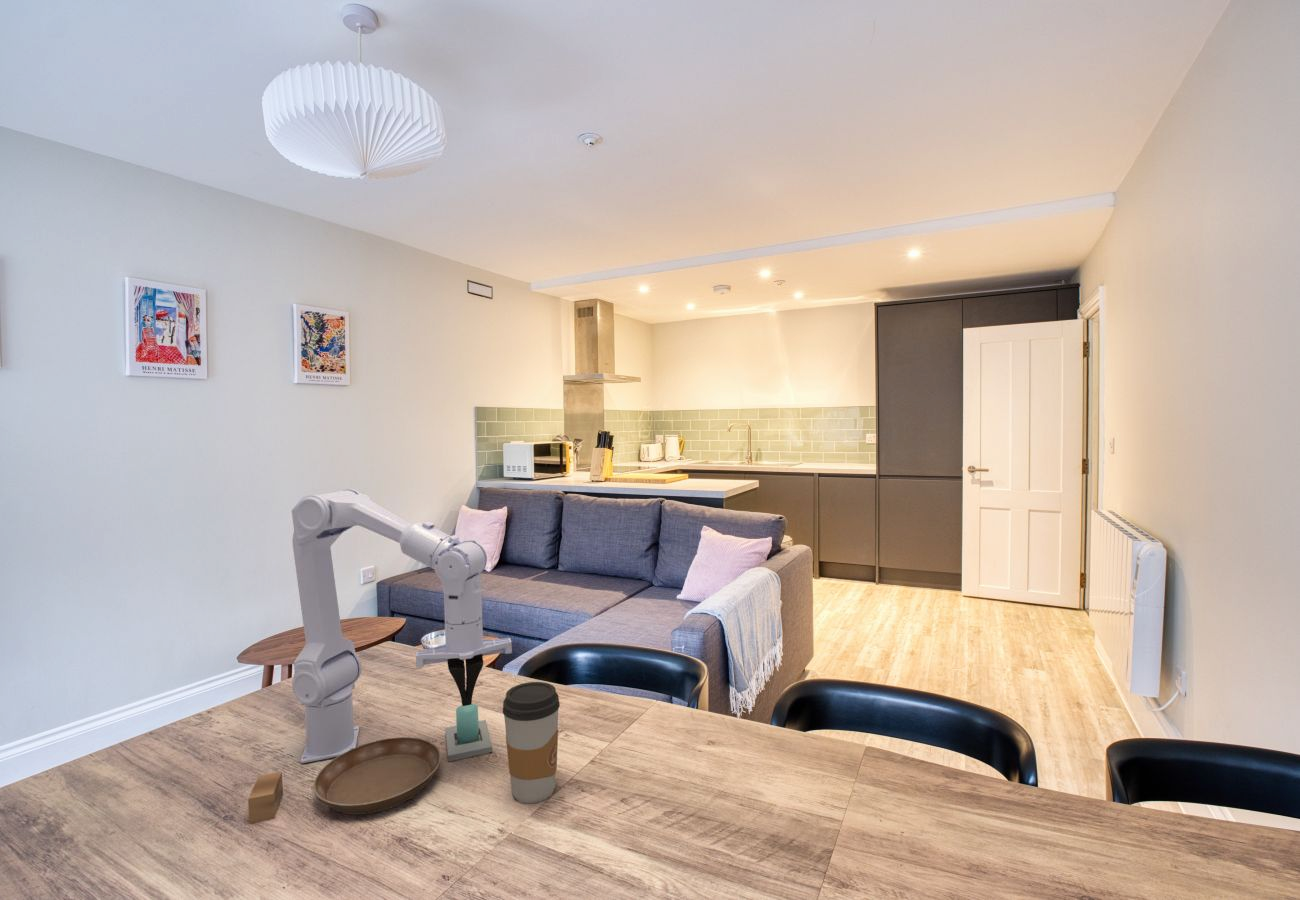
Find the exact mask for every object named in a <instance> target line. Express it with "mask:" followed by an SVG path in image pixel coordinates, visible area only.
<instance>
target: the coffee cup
mask: <svg viewBox="0 0 1300 900" xmlns="http://www.w3.org/2000/svg"><path fill="white" fill-rule="evenodd" d="M559 698H560V697H559V694H558V692H557V689H556V687H555V685H553V684H551V683H549V682H548V683H547V682H545V681H544V682H542V681H531V682H524V683H519V684H516V685H515V686H513V687H511V688H509V689H508V690H507V691H506V693H505V698H504V700H503V701H502V703H503V705H502V707H503V708H502V714H503V715H504V717H503V718H504V726H505V727H504V729H505V741H506V751H507V752H506V753H507V762H508V770H509V772H508V773H509V775H510V786H511V793H512V794H513V796H514V799H515V800H517V802H520V803H524V804H536V803H539V802H543V801H544V800H547V799H549V798H550V797H551V796H552V794H553V792H554V790H555V789H556V778H557V768H558V741H559V738H558V737H559V729H558V728H559V727H558V726H559V723H558V722H559V708H560V704H561V703H560V699H559Z"/></svg>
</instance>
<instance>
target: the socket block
mask: <svg viewBox="0 0 1300 900" xmlns="http://www.w3.org/2000/svg"><path fill="white" fill-rule="evenodd" d="M478 725H479V733H480V734H479V736H480V735H481V736H480V739H481V740H479V741H476V742H471V743H466V744H461V745H457V744H456V739H455V738H457V725H452V726H451V725H450V726H447V727H445V739H446V740H445V741H446V752H447V762H448V761H449V762H453V761H458V760H462V759H467V758H473V757H478V756H481V755H480V754H483V755H487V754H486V753H488V754H490V753H489V752H492V753H493V745H492V739H491V735H490V732H489V731H490V730H489V728H488V724H487V720H486V719H484V720H478ZM477 755H478V756H477ZM472 756H473V757H472Z"/></svg>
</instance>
